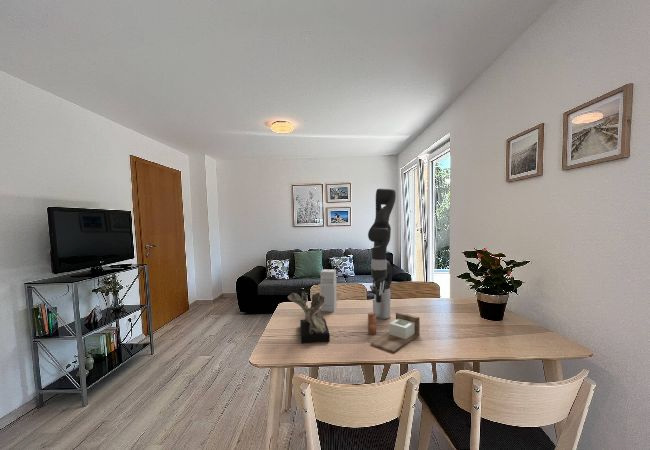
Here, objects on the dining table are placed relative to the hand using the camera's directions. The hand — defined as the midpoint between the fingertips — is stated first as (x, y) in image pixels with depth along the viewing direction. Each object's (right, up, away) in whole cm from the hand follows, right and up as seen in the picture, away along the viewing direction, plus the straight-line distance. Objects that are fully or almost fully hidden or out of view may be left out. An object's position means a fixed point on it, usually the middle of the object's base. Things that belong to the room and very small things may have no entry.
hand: (378, 302), depth 141 cm
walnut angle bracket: (+7, -17, -6) cm, 19 cm away
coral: (-35, -18, +2) cm, 40 cm away
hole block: (+11, -15, -1) cm, 19 cm away
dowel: (-3, -17, +3) cm, 17 cm away
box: (-24, -16, +41) cm, 50 cm away
